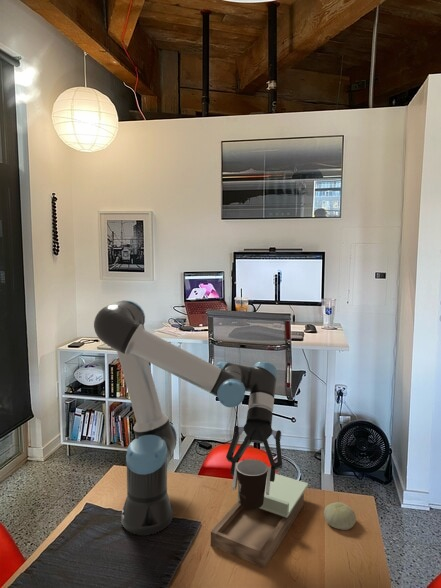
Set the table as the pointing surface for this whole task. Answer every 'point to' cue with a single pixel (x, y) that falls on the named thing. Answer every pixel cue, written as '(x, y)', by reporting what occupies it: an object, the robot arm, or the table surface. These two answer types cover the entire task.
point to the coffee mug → (251, 482)
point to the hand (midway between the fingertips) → (250, 491)
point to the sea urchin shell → (339, 515)
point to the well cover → (282, 495)
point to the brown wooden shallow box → (252, 532)
